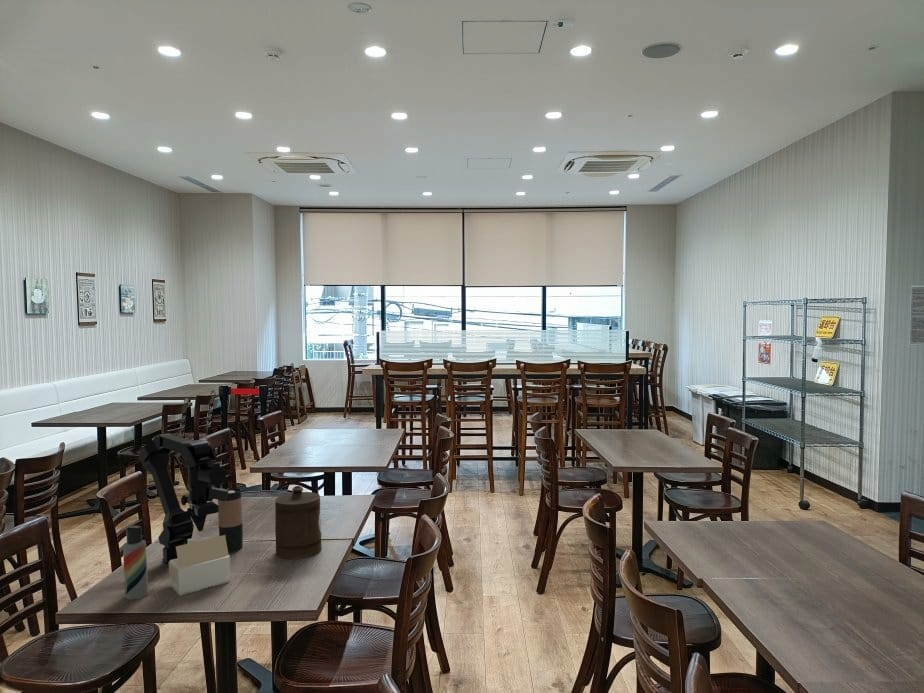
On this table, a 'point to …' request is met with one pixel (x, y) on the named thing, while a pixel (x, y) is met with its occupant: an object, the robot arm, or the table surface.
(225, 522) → the travel mug
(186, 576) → the storage box
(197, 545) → the top flap
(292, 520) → the wooden container
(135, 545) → the lotion bottle
